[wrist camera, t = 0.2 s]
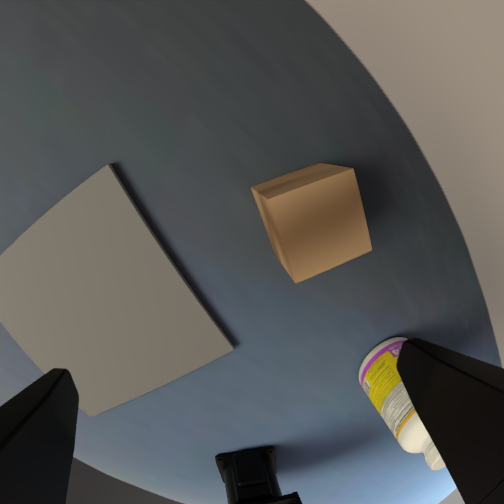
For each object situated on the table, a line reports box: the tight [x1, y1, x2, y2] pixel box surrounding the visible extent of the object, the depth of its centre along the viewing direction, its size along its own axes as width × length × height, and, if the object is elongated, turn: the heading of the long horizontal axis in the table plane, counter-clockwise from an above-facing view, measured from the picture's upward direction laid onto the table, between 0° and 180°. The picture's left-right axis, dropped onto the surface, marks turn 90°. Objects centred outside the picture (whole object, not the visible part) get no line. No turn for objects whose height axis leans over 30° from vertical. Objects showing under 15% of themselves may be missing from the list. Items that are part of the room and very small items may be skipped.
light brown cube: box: [251, 163, 372, 283], centre depth 19 cm, size 5×5×5 cm
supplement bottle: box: [359, 337, 446, 470], centre depth 22 cm, size 7×7×13 cm
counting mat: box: [0, 164, 234, 417], centre depth 21 cm, size 16×16×1 cm
